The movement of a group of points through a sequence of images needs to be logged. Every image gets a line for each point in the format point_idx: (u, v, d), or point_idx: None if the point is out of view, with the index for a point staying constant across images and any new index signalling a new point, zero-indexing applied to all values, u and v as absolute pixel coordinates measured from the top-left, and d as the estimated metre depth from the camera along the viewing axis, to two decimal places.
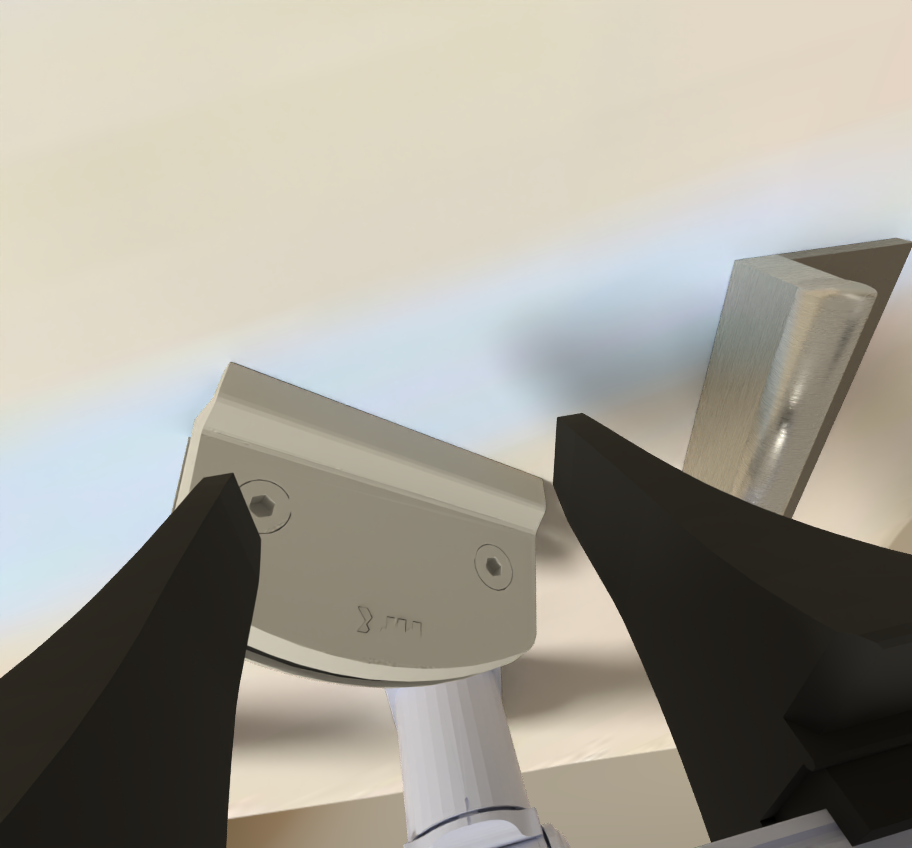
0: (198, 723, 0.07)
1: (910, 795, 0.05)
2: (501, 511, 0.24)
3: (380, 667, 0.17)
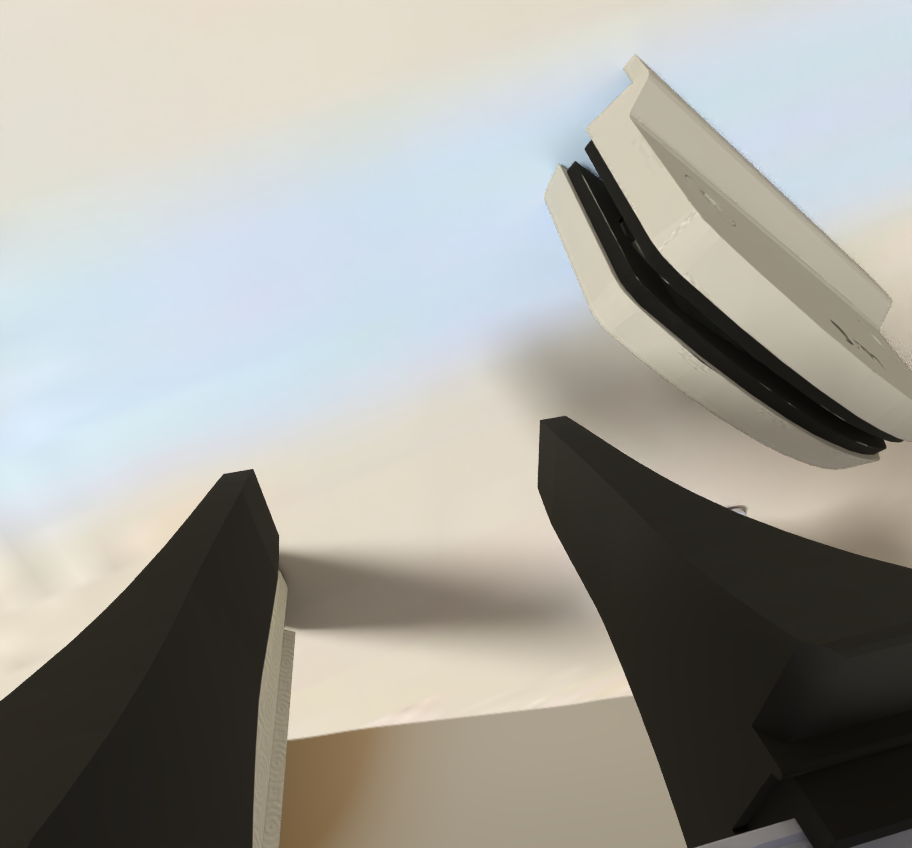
0: (225, 717, 0.07)
1: (877, 805, 0.05)
2: (857, 294, 0.21)
3: (875, 384, 0.14)
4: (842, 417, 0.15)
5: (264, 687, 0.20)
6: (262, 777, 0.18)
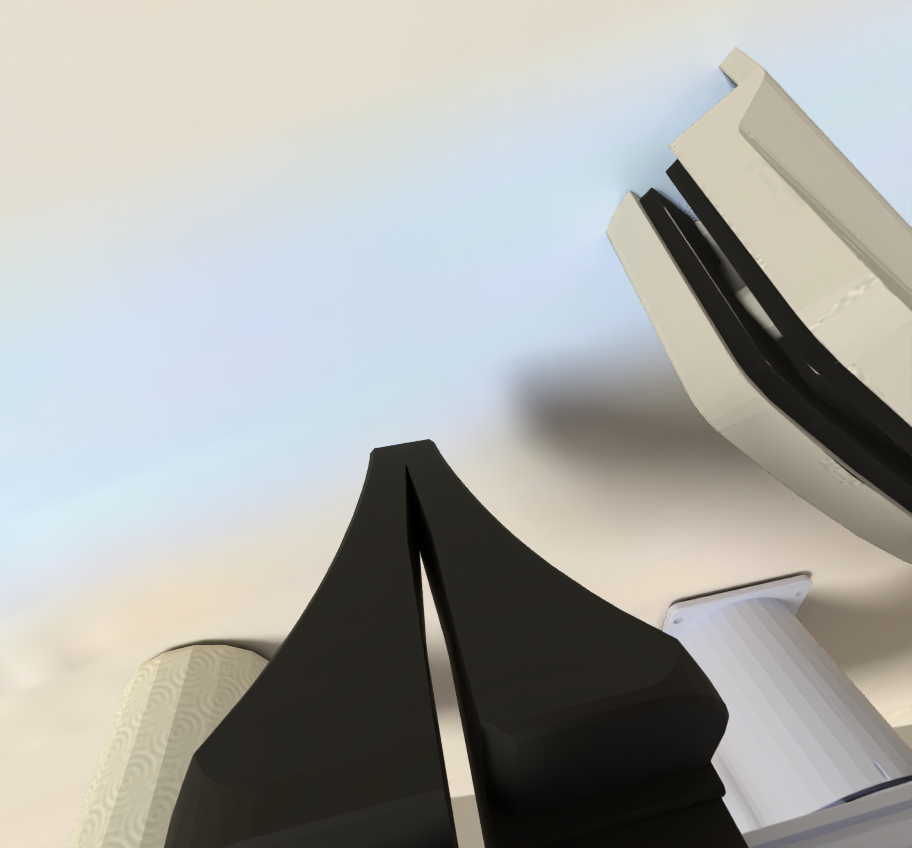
0: None
1: None
2: None
3: None
4: None
5: None
6: None
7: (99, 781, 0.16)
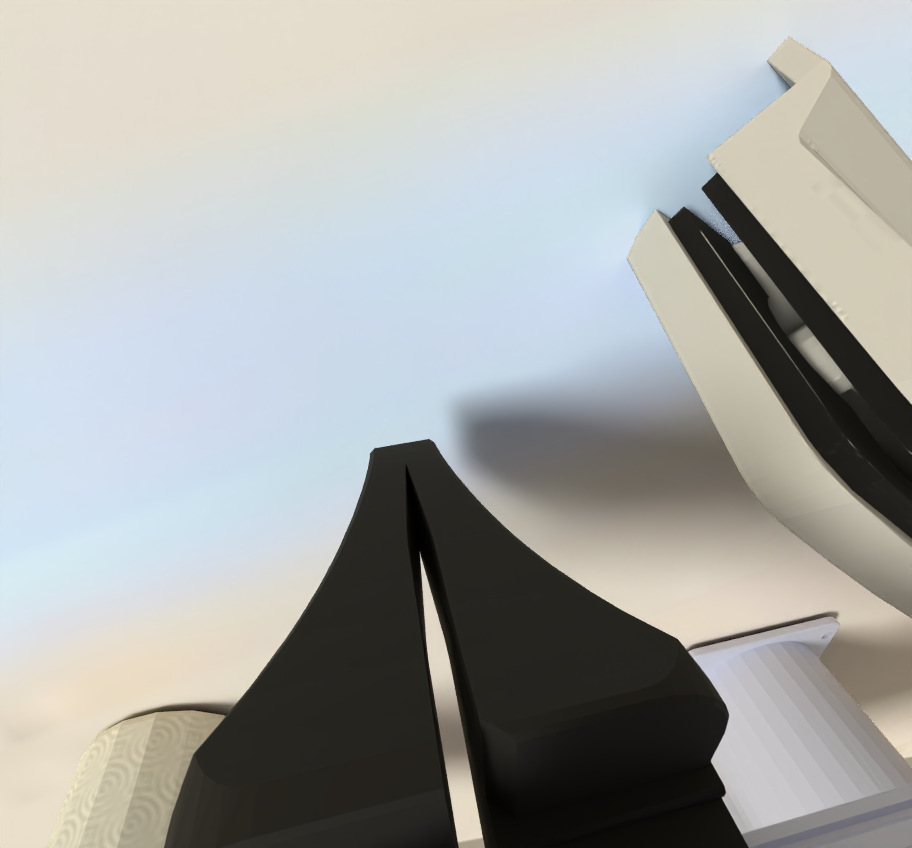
0: None
1: None
2: None
3: None
4: None
5: None
6: None
7: None
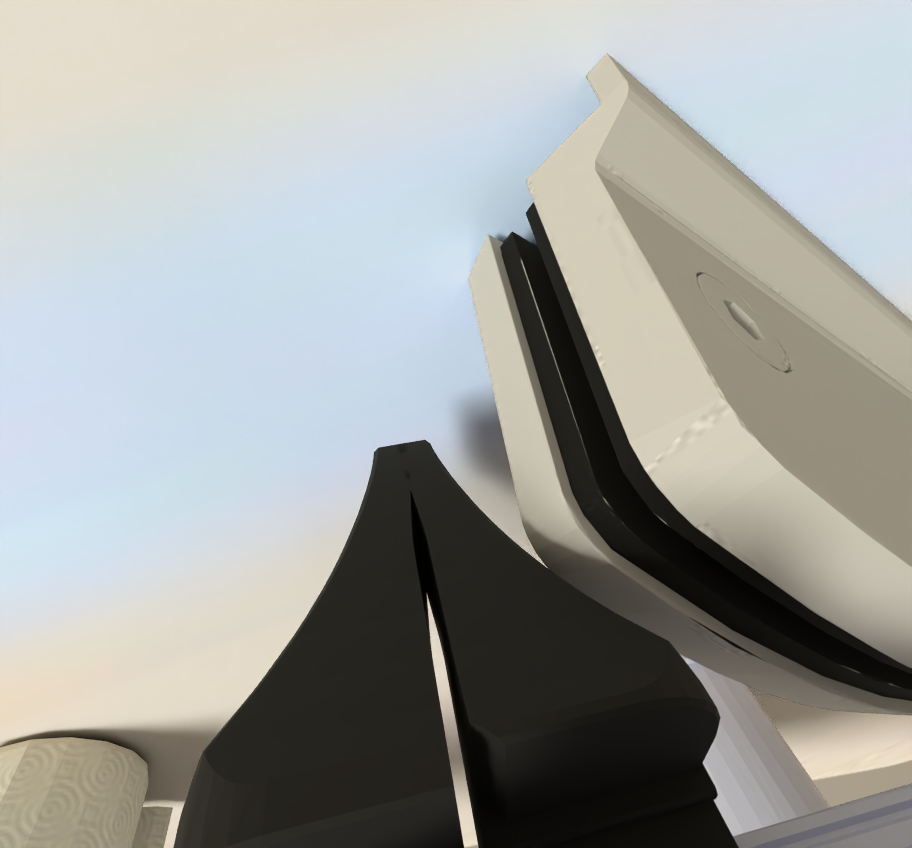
0: None
1: None
2: None
3: None
4: None
5: None
6: None
7: None
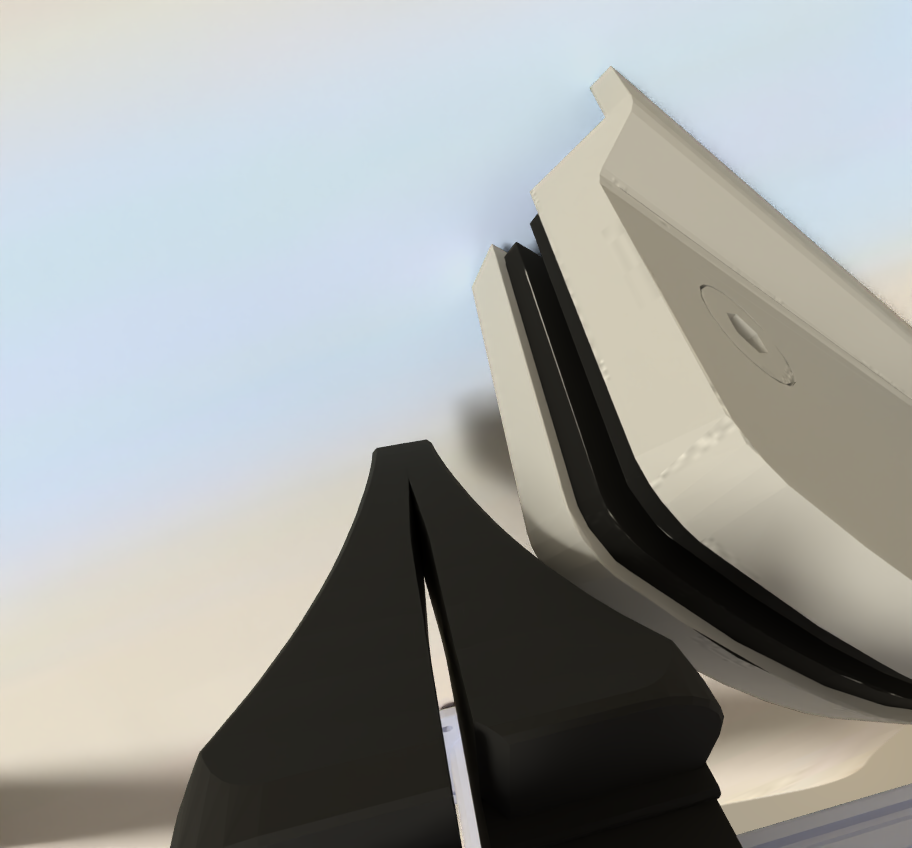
0: None
1: None
2: None
3: None
4: None
5: None
6: None
7: None
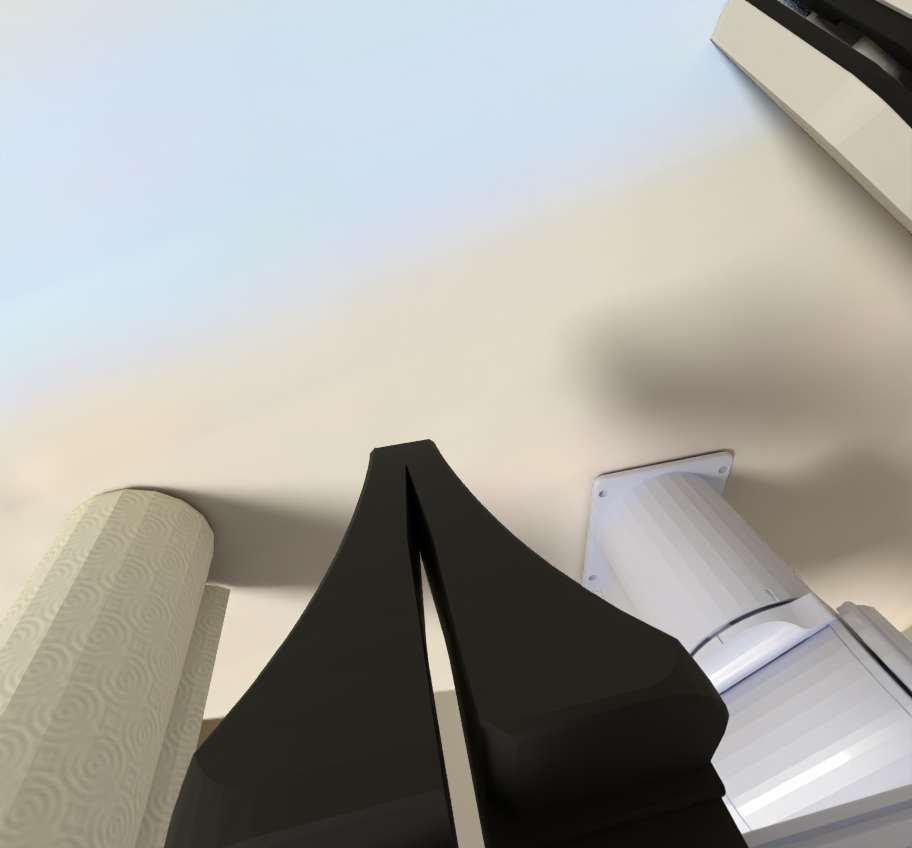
0: None
1: None
2: None
3: None
4: None
5: (162, 634, 0.17)
6: (146, 734, 0.15)
7: (24, 587, 0.18)
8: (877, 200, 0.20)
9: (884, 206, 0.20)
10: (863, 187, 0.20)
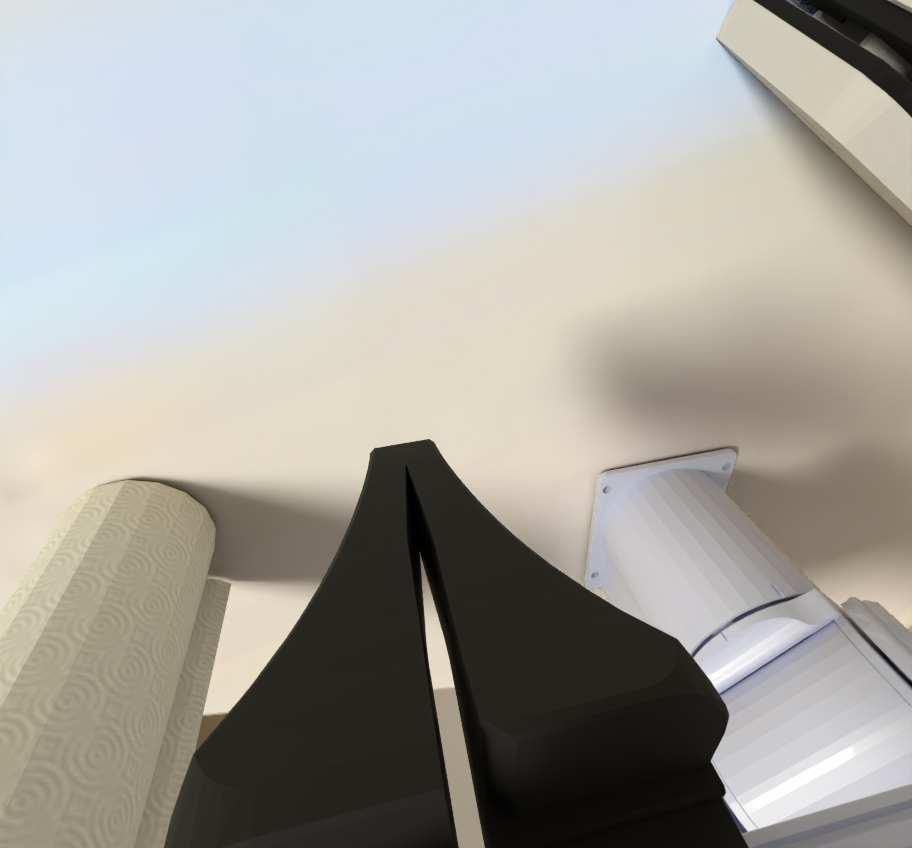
0: None
1: None
2: None
3: None
4: None
5: (164, 625, 0.17)
6: (148, 725, 0.15)
7: None
8: (883, 198, 0.20)
9: (890, 204, 0.20)
10: (869, 185, 0.20)
